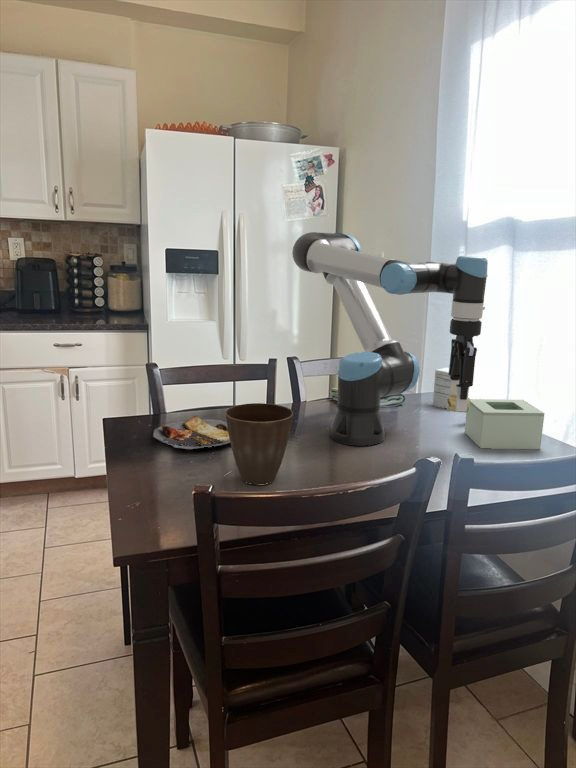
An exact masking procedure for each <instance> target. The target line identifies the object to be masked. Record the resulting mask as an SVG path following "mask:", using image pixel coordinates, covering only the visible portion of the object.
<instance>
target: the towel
mask: <svg viewBox="0 0 576 768" xmlns="http://www.w3.org/2000/svg"><path fill="white" fill-rule="evenodd" d="M329 392H330V394H331V399H332V398H333V399H332V400H334V401H337V402H338V386H337V387H331V389H330V390H329ZM406 400H407V397H406V395H405V394H404V392H403V393H401V394H394V395H389V396H385V397H380V409H381V408H382V407H383V408H393V407H398V406H401V405H402V404H404V403H405V402H406Z"/></svg>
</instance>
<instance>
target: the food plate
mask: <svg viewBox="0 0 576 768" xmlns="http://www.w3.org/2000/svg"><path fill="white" fill-rule="evenodd" d="M182 428H183V429H184V428H185V429H187V430H177V429H182ZM192 431H193V432H196V433H198V434H201V435H204V436H207V437H210V438H213V439H217V440H220V441H224V443H216V442H214V441H213V440H211V439H209V438H203V437H199V436H197V437H189V436H191V435H192V433H193V432H192ZM152 437H153V438H154V439H156V440H158V441H160V442H161V443H164V444H166V445H167V444H168V441H163V438H171V439H174V440H177V441H182V440H184V439H187V438H191V439H194V440H195V441H197V442H198V443H200V444H202V445H203V444H213V443H214V445H212V446H214V447H217V446H219V447H220V446H223V445H228V444H231V443H230V438H229V433H228V427H227V421H226V420H222V419H221V420H220V419H213V418H206V419H205V418H200V417H199V416H198V415H194V416H192V417H191V418H189V419H181V420H177V421H171V422H167V423H164V424H162V425H160V426H158V427H156V428H155V429H154V430H153V432H152ZM227 440H229V441H227ZM225 441H227V442H225ZM168 445H171V446H170V447H173V448H176V449H185V450H193V449H195V450H197V449H205V448H204V447H208V448H213V447H212V446H199V445H197V446H189V445H182V446H178V445H176V444H175V445H173V444H168ZM168 445H167V446H168Z"/></svg>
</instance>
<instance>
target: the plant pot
mask: <svg viewBox="0 0 576 768" xmlns="http://www.w3.org/2000/svg"><path fill="white" fill-rule="evenodd" d="M224 413H225V419H226V420H225V421H226V422H227V427H228V433H229V438H230V443H229V444H230V446H231V450H232V455H233V457H234V458H233V459H234V460H235V464H236V466H237V470H238V472H239V473H238V474H239V475H240V478H241V480H242V482H244V481H245V482H247V483H251V484H266V483H270V482H272V481H273V482H274V481H275V480H276V477H277V475H278V472H279V470H280V468H281V465H282V462H283V459H284V455H285V452H286V449H287V446H288V443H289V438H290V434H291V429H292V422H293V419H294V411H293V410H292V409H291V408H289V407H286V406H285V405H278V404H275V403H262V402H261V403H257V402H255V403H254V402H253V403H244V404H237V405H234V406H231V407H229V408H228V409H226V411H225V412H224ZM245 482H244V483H245ZM273 482H272V483H273ZM247 483H246V484H247ZM270 484H271V483H270Z"/></svg>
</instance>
